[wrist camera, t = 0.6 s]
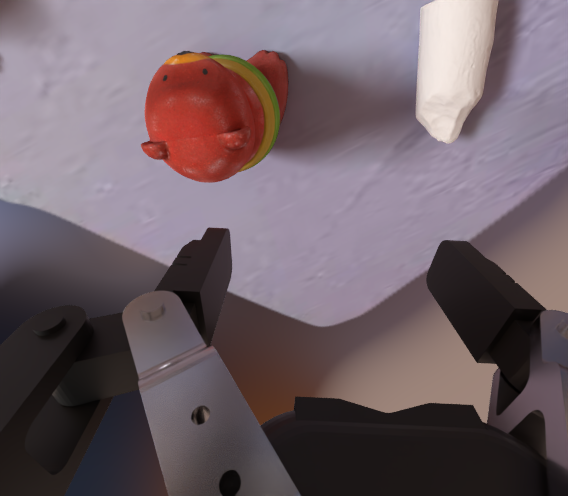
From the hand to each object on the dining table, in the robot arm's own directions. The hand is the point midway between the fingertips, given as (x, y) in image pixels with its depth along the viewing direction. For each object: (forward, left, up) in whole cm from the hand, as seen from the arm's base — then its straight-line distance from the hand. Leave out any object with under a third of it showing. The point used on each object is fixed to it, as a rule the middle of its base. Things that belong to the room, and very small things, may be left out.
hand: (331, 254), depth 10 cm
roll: (-6, +14, -25) cm, 29 cm away
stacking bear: (-3, -7, -25) cm, 26 cm away
